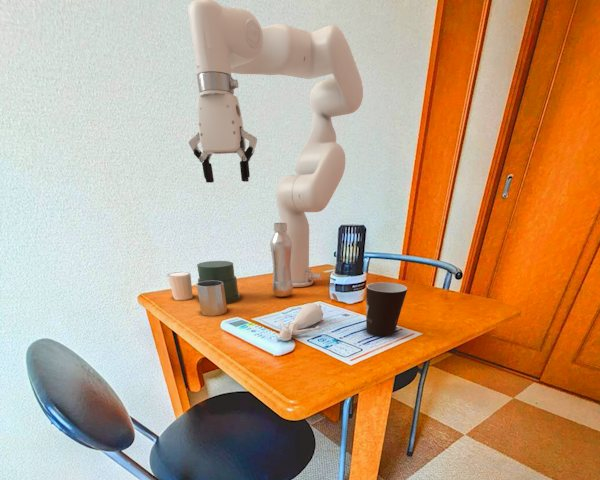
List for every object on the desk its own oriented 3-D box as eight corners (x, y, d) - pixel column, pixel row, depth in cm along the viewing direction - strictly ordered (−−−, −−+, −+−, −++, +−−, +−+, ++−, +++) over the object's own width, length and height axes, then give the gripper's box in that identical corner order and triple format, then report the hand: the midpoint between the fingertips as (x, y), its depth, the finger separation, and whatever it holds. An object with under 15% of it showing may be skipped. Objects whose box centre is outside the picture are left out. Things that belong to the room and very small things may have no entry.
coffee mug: (392, 341, 67) (400, 294, 62) (355, 333, 71) (360, 288, 66) (407, 325, 75) (416, 282, 70) (374, 319, 79) (379, 278, 74)
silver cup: (230, 308, 87) (227, 281, 83) (220, 316, 82) (216, 287, 77) (208, 307, 88) (204, 279, 84) (196, 314, 83) (191, 285, 79)
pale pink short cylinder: (180, 302, 93) (175, 277, 89) (167, 298, 96) (161, 274, 92) (199, 296, 97) (195, 273, 94) (186, 293, 101) (181, 270, 97)
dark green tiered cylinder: (246, 294, 99) (242, 260, 94) (230, 305, 89) (225, 268, 84) (211, 292, 102) (206, 259, 96) (192, 303, 92) (185, 267, 86)
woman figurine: (338, 303, 75) (305, 332, 63) (337, 320, 78) (306, 351, 65) (295, 297, 80) (257, 323, 67) (296, 314, 83) (259, 342, 70)
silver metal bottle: (268, 297, 96) (264, 223, 85) (278, 292, 101) (275, 222, 90) (287, 299, 94) (285, 224, 83) (296, 294, 99) (295, 222, 88)
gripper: (257, 89, 71) (264, 181, 81) (189, 95, 74) (203, 182, 84) (246, 80, 65) (254, 181, 75) (172, 87, 68) (189, 182, 78)
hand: (227, 181), depth 79 cm, fingers open, 9 cm apart
